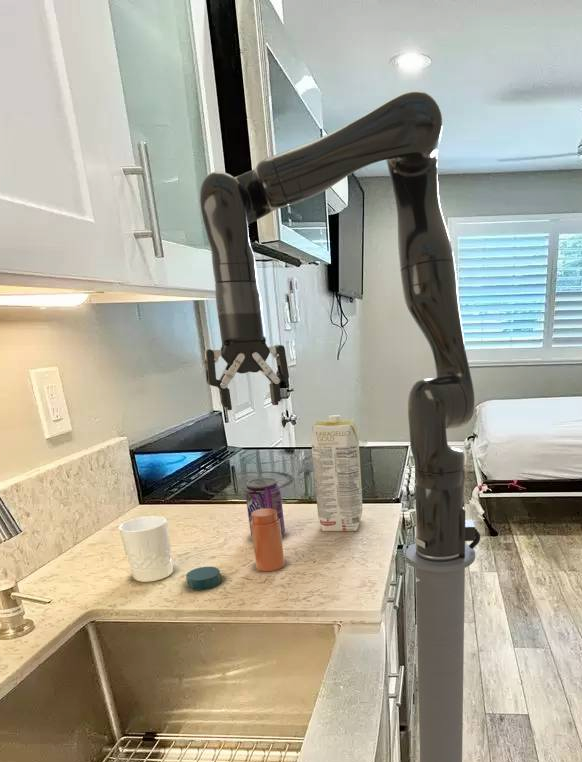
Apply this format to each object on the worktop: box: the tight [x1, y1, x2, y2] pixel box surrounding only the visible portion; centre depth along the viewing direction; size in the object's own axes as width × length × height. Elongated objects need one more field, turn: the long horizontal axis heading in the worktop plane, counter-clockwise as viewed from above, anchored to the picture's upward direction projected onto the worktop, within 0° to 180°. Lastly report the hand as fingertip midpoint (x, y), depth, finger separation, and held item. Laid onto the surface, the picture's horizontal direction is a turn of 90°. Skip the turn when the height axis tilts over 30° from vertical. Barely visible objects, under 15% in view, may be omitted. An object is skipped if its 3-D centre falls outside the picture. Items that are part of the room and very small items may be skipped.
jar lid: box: [185, 566, 222, 591], centre depth 100 cm, size 6×6×2 cm
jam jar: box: [249, 508, 286, 572], centre depth 105 cm, size 5×5×11 cm
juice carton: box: [311, 414, 363, 532], centre depth 120 cm, size 9×8×24 cm
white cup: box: [118, 515, 174, 583], centre depth 103 cm, size 8×8×10 cm
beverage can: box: [244, 477, 286, 537], centre depth 119 cm, size 7×7×12 cm
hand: (252, 407), depth 104 cm, fingers open, 8 cm apart
